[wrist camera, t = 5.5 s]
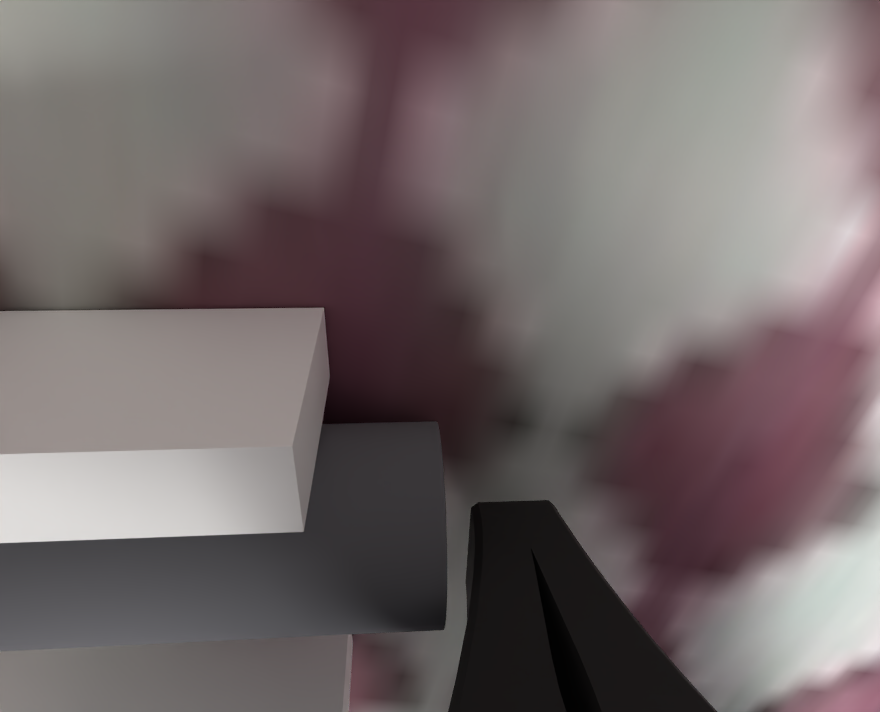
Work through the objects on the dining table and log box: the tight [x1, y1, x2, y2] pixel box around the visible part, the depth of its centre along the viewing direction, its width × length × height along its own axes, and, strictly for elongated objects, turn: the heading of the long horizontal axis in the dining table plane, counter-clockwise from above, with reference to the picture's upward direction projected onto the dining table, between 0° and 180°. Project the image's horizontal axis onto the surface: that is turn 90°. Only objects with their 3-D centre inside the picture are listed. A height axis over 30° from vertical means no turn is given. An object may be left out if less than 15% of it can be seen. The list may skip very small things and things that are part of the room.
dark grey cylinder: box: [0, 421, 447, 652], centre depth 9 cm, size 8×3×3 cm
